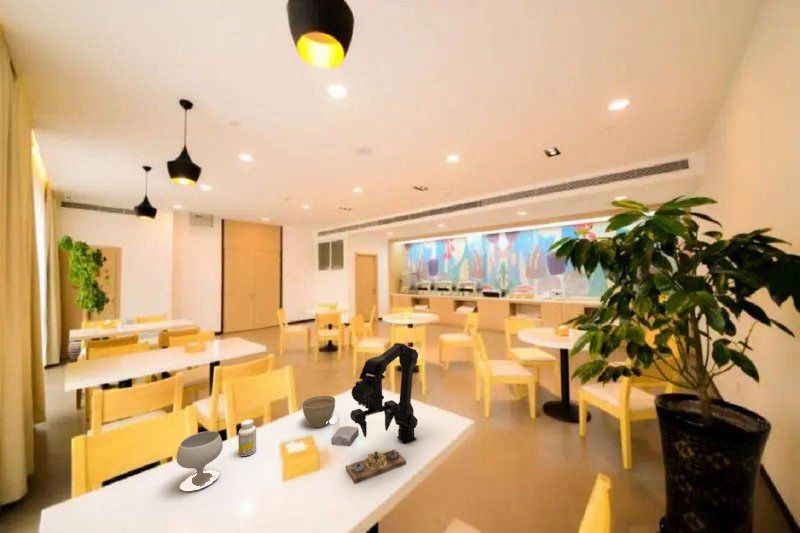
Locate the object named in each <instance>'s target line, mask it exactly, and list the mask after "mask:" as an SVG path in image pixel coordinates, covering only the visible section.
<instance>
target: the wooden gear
mask: <svg viewBox="0 0 800 533" xmlns="http://www.w3.org/2000/svg"><path fill="white" fill-rule="evenodd" d="M383 453H384V452H378V459H375V455H374V452H373V453H369V454H368V455H367V456H368V457H366V458H365V459H367V464H369V468H371V467H374V468H376V469H378V467H381V466H384V462H386V456H384V455H383Z"/></svg>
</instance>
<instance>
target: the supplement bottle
mask: <svg viewBox="0 0 800 533" xmlns="http://www.w3.org/2000/svg"><path fill="white" fill-rule="evenodd" d="M240 426H241V428H240V429H239V431H238V435H237V436H238V437H237V439H238V456H239V455H241V456H247V455H250V456H252V455H253V454H255V453H256V451H257V427H256V426H255V425H254V419H245V420H243V421H242V422H241V423H240ZM254 452H255V453H254ZM251 454H252V455H251ZM241 456H240V457H241ZM247 457H248V456H247Z"/></svg>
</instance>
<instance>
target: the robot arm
mask: <svg viewBox="0 0 800 533" xmlns="http://www.w3.org/2000/svg"><path fill="white" fill-rule="evenodd" d="M397 358H398V360H399V361H398V362H399V364H400V367H401V379H400V391H399V402H398V403H397V402H395V400H392V399H391V400H388V401H385V402H383V400H384V399H385V396H384V395H383V380H384V379H386V376H385V375H384V373H385V372H386V371H387V370H388V369H387V367H388V365H390V364H391V363H392V362H394V361H395V360H396V359H397ZM418 360H419V353H418V351H417V349H414V348H411V347H409V346H407V345H406V344H405V343H400V342H399V343H398V342H396V343H394V344H393V345H392V346H391V347H389V348H388V349H387V350H385V351H384V352H383V353H382V354H380V355H379V356H378V355H377V356H372V357H370V358H368V359H367V360H366V361H365V363H364V365H363V368H362V369H361V373H360V376H359V377H358V378H359V381H355V385H354V386H352V389H351V397H352V398H353V400H354V401H355V402H357V404H358V406H362V407H364V408H365V409H366V410H362V409H361V408H357V409H353V410H351V412H350V415H349V416H350V419H351V420H352V421H353V422H354V423H355V424H357V425H358V426H360V428H361V431H362V434H363V438H367V432H368V431H367V429H368V428H367V423H368V422H367V421H366V420H367V417H368V416H372V415H376V414H379V413H383V412H384V430H385V431H386V432H387V431H388V430H389V427H390V426H391V423H392V421H393V419H394V422H395V425H397V426H398V429H397V435H398V436H397V437H396V438H397V439H398V440H399V441H400V442H401V443H403V445H406V444H408V443H412V442H414V441H415V442H416V441H417V438H416V436H415V429H416V428H417V425H418V421H419V420H418V419H417V418H416V416H415V414H414V412H415V410H414V407H413V405H412V403H411V402H412V401H411V399H412V398H411V397H412V388H413V387H412V385H413V373H414V372H413V371H414V368H415V367H416V365H417V364H418Z"/></svg>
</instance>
